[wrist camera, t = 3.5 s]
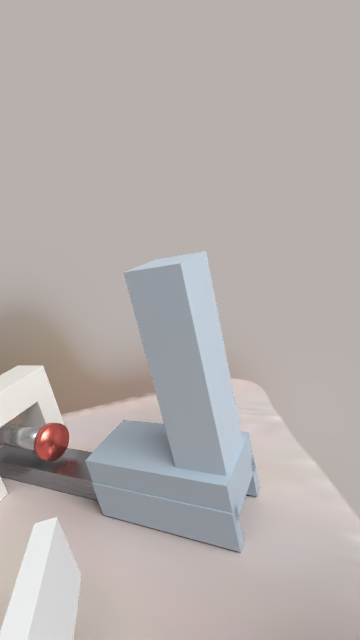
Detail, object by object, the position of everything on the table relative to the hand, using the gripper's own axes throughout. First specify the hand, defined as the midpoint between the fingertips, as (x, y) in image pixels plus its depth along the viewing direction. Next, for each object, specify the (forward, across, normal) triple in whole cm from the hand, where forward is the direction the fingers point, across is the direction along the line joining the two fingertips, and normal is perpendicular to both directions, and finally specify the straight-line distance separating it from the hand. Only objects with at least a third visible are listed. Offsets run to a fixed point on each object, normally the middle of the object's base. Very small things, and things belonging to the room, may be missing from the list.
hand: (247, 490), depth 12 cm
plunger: (+21, -16, -8) cm, 27 cm away
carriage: (+11, -3, -10) cm, 16 cm away
